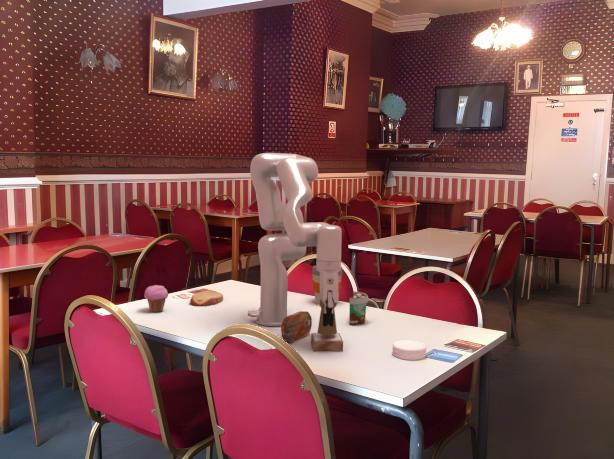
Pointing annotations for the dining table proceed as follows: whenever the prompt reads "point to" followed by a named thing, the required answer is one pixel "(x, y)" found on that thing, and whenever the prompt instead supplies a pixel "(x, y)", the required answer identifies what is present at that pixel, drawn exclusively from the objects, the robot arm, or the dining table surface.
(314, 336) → the plinth
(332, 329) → the cork
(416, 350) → the white round disc
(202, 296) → the bread slice
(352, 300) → the food container
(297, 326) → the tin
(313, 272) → the reusable coffee cup
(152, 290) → the cupcake
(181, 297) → the dining table surface
